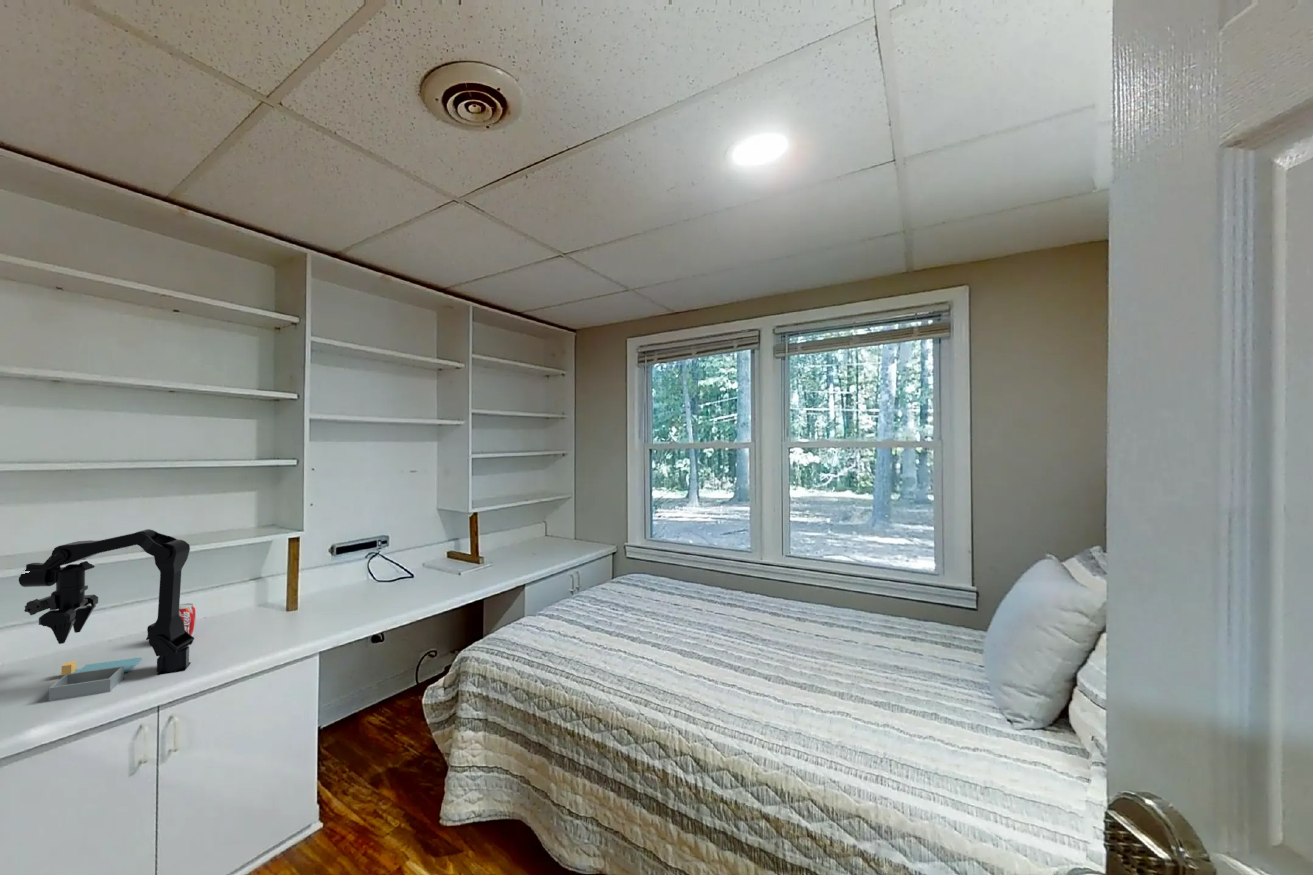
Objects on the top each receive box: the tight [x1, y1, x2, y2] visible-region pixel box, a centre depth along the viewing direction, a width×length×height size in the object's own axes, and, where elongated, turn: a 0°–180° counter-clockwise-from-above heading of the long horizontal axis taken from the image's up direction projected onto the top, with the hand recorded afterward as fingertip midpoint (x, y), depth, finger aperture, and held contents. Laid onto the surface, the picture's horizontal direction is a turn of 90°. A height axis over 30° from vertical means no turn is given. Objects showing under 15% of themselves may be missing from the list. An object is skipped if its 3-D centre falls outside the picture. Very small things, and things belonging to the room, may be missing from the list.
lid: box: [61, 656, 143, 678], centre depth 158 cm, size 16×10×4 cm, turn 119°
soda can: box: [179, 602, 196, 638], centre depth 183 cm, size 7×7×12 cm
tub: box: [48, 666, 125, 702], centre depth 148 cm, size 12×9×4 cm
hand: (69, 637), depth 155 cm, fingers open, 9 cm apart
